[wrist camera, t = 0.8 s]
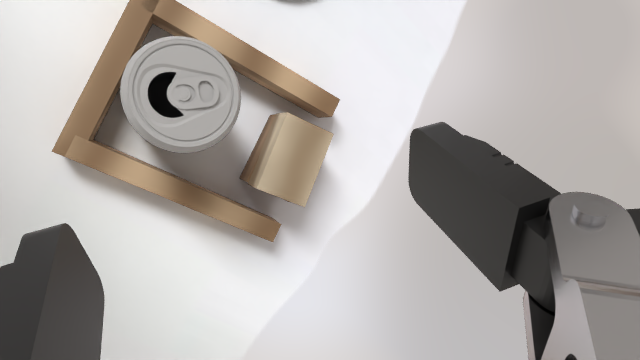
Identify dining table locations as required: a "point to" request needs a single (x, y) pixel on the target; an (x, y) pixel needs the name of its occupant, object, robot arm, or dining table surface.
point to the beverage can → (180, 94)
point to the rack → (92, 106)
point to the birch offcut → (290, 158)
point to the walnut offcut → (257, 151)
